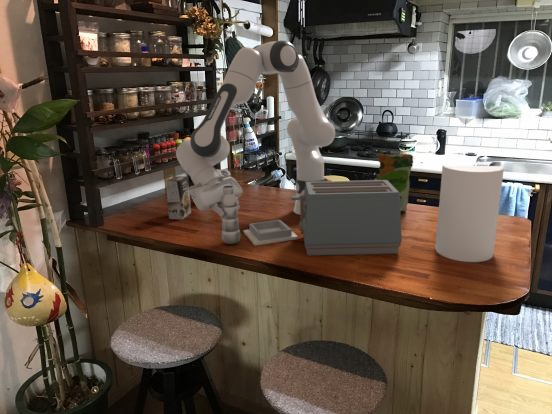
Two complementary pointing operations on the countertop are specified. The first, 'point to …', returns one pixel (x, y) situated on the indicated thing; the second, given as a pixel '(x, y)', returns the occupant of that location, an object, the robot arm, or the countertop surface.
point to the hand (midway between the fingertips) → (231, 212)
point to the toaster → (350, 217)
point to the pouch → (397, 174)
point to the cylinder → (468, 212)
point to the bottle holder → (269, 232)
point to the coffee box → (178, 197)
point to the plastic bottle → (230, 216)
